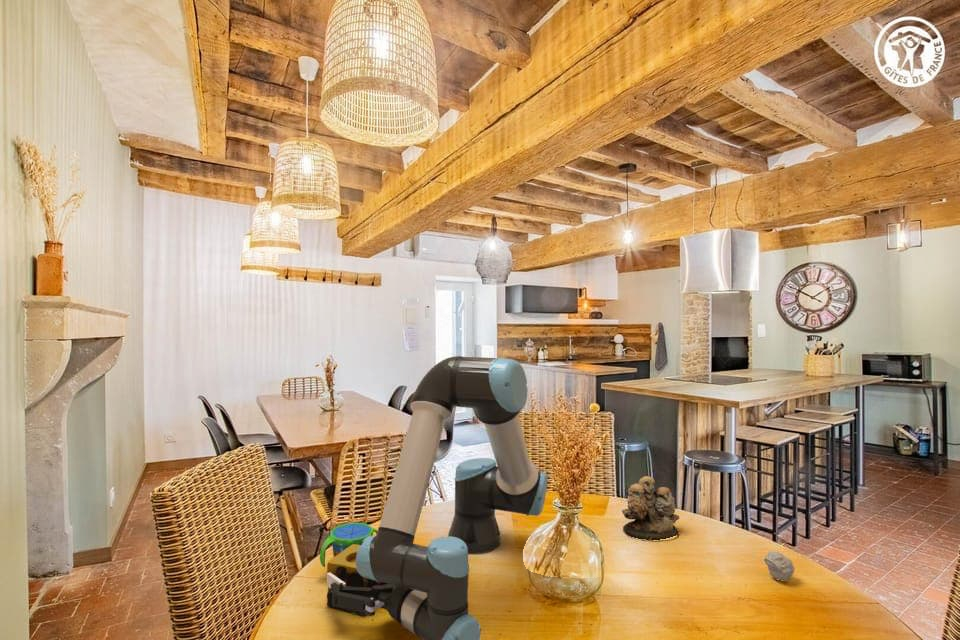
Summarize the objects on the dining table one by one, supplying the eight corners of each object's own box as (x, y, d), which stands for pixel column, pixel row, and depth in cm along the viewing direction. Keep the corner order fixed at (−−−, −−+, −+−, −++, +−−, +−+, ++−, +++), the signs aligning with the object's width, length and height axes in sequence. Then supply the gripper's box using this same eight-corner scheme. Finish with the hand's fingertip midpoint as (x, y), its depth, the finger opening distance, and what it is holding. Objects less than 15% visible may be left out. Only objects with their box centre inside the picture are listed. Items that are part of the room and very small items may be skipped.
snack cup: (373, 554, 129) (373, 517, 129) (388, 572, 120) (389, 531, 120) (313, 570, 120) (314, 529, 120) (325, 590, 111) (326, 546, 112)
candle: (389, 593, 111) (390, 549, 111) (364, 617, 101) (365, 570, 101) (352, 584, 114) (353, 542, 114) (325, 607, 105) (326, 561, 105)
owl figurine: (632, 544, 138) (632, 484, 139) (613, 527, 150) (613, 472, 150) (687, 539, 142) (687, 481, 142) (665, 523, 153) (665, 470, 154)
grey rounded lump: (757, 575, 122) (758, 548, 122) (780, 572, 123) (780, 545, 123) (778, 588, 116) (778, 559, 116) (801, 585, 117) (801, 556, 117)
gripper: (358, 656, 85) (303, 607, 100) (459, 600, 104) (399, 565, 118) (359, 614, 86) (303, 570, 100) (459, 565, 104) (400, 534, 118)
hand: (355, 567), depth 109 cm, fingers open, 13 cm apart
